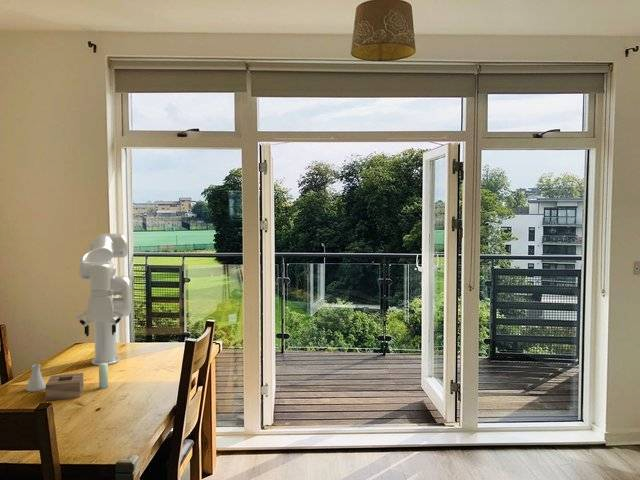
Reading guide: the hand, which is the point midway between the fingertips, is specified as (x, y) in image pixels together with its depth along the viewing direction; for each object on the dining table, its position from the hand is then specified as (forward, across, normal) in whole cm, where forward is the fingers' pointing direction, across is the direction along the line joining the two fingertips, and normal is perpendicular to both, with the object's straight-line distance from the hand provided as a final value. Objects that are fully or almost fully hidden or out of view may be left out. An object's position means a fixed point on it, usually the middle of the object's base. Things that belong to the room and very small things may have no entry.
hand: (100, 334), depth 200 cm
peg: (+23, -1, -4) cm, 23 cm away
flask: (+23, +25, -10) cm, 36 cm away
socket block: (+23, +13, -1) cm, 27 cm away
